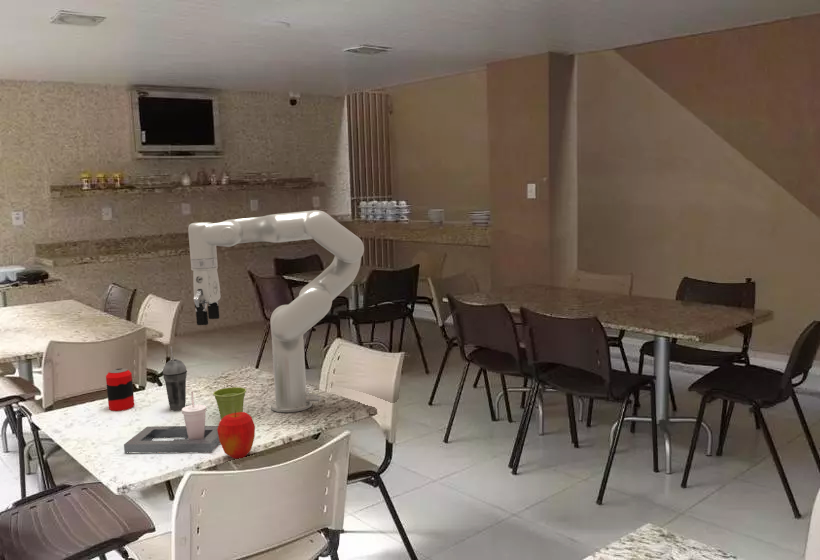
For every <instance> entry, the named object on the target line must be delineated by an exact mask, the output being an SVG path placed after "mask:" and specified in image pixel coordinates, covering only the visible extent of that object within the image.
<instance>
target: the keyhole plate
mask: <svg viewBox="0 0 820 560" xmlns="http://www.w3.org/2000/svg"><path fill="white" fill-rule="evenodd" d="M217 429H218V425H205V433H204V439H189V438H188V434H187V429H186V425H179V426H177V425H167V426H165V425H164V426H161V425H159V426H158V425H157V426H156V425H155V426H152V425H151V426H146V427H144V428H143V429H142V430H140V431H139V432H138V433H136V435H134V436H133V437H131V438H130V439H129V440H128V441H126V442H125V443H124V444H123V451H124V454H130V453H129V452H156V453H155V454H158V453H157V452H198V453H199V454H201V453H203V454H204V453H212V452H214V450H215V449H216V448H217V447H218V446H219V445H221V443H220V441H219V436H218V431H217ZM164 437H165V438H164ZM170 437H184V438H174V439H173V440H154V439H166V438H167V439H171V438H170ZM153 438H154V439H153ZM152 439H153V440H152ZM127 452H128V453H127Z"/></svg>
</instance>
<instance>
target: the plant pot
mask: <svg viewBox="0 0 820 560" xmlns="http://www.w3.org/2000/svg"><path fill="white" fill-rule="evenodd" d="M246 393H247V389H246V388H245V387H240V386H235V387H234V386H233V387H226V388H225V387H224V388H220V389H217V390H215V391H213V393H212V395H213V396H214V399H215V400H216V404H217V408H218V412H219V417H220V420H221V419H222V418H223V417H224V416H226V415H229V414H232V413H235V410H236V413H238V412H244V404H245V403H244V402H245V401H244V400H245V397H246Z"/></svg>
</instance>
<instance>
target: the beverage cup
mask: <svg viewBox="0 0 820 560" xmlns="http://www.w3.org/2000/svg"><path fill="white" fill-rule="evenodd" d="M169 347H170V348H169V349H170V355H171V356H170V357H171V359H170V360H168V361H167V362H166V363H165V364H164V366H163V368H162V375H163V379H164V382H165V383H164V384H165V388H166V394H167V399H168V400H167V401H168V405H169V410H170V411H173V412H178V411H182V408H184V407H186V402H187V401H186V399H187V397H186V396H187V395H186V394H187V393H186V392H187V391H186V390H187V383H186V382H187V372H188V371H187V367H186V365H185V363H184V362H183V361H181V360H180V359H175V358H174V354H173V352H174V351H173V346H169Z"/></svg>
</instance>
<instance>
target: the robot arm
mask: <svg viewBox="0 0 820 560" xmlns="http://www.w3.org/2000/svg"><path fill="white" fill-rule="evenodd" d="M187 233H188V240H189V241H188V242H189V255H190V270H191V271H193V272H192V274H193V275H192V276H193V277H192V278H193V283H192V284H193V286H192V287H193V302H194V308H195V316H196V325H197V326H208V325H209V320H218V319H220V307H219V303H220V302H219V300H221V287H220V280H219V279H220V278H219V273H218V269H219V267H218V265H219V264H218V253H217V246H218V247H227V248H230V247H234V246H236V245H237V244H245V243H246V244H247V243H255V242H256V243H257V242H260V243H261V242H268V243H285V242H286V243H288V242H294V241H295V242H296V241H302V240H303V241H305V240H314V241H315V242H316V243H317V244H319V245H320V246H321V247H323V248H324V249H325V250H327V251H328V252H330V253H331V254H332V255H334V257H333V259H332V262H331V263H330V265H328V267H326V268H325V269H324V270H323V271H322V272H321V273H320V274H318V275H317V276H316V277H315V278H314V279H312V280H311V281H310V282H308V283H307V284H306V285H304V286H303V287H302V288H301V289H300V291H299V294H298V296H297V297H295V299H294V300H292V301H290V303H288V304H282V305H279V306H277V307H276V308H275V309H274V310H273V311H272V313H271V315H270V321H269V322H270V333H271V346H272V347H271V348H272V366H273V381H274V382H273V383H274V395H275V396H274V397H275V398H274V399H275V400H274V401H273V402H271V404H270V409H271V410H272V411H273V412H277V413H296V412H302V411H305V410H308V409H310V408H311V407H312V406H313V402H314V403H315V402H321V398H322V397H321V395H320V394H318V393H310V390H309V389H307V379H306V361H305V341H304V335H305V334H306V333H307V331H309V330H310V329H311V328H312V327H314V326H316V325H317V323H319V322H320V321H321V320H322V319H324V318H325V316H326V315H328V313H329V312H330V310H331V308H332V304H333V301H334V300H335V299H336V298H337V297H338V296H339V295H340V294H341V293H343V292H344V290H346V289H347V288H348V287H349V286H350V285H351V284H352V283H353V282H354V280H355V279H356V277H357V275H358V273H359V271H360V269H361V268H360V267H361V262H362V257H363V255H364V252H365V246H364V242H363V240H362V239H361V238H360V237H359V236H357V235H356V234H354V233H353V232H352V231H351V230H349V229H348V228H346V227H345V226H344V225H342V224H341V223H339V221H337V220H336V219H335V218H333V216H331V215H330V214H328V213H327V212H326V211H322V210H306V211H305V210H304V211H294V212H284V213H283V212H282V213H275V214H266V215H264V216H255V217H254V216H253V217H246V218H245V217H244V218H237V219H236V218H233V219H226V220H223V221H219V222H214V223H213V222H210V221H204V222H203V221H202V222H192V223H190V224H189V225H188V232H187Z"/></svg>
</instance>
